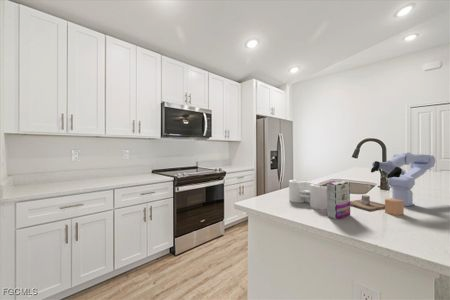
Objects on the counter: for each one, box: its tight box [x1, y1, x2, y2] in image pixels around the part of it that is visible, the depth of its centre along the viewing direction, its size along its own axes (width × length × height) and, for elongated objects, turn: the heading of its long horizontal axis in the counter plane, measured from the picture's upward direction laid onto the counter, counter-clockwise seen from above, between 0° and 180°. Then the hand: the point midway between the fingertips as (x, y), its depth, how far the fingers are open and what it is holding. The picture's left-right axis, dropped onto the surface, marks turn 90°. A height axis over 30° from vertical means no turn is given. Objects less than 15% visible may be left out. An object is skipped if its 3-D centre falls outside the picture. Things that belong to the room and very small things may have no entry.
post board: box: [350, 194, 385, 212], centre depth 113 cm, size 16×14×6 cm
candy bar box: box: [326, 180, 351, 220], centre depth 97 cm, size 11×5×16 cm, turn 117°
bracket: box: [288, 179, 327, 210], centre depth 119 cm, size 25×10×12 cm, turn 34°
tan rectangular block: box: [384, 197, 405, 217], centre depth 100 cm, size 5×5×7 cm
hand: (379, 173), depth 105 cm, fingers open, 7 cm apart
